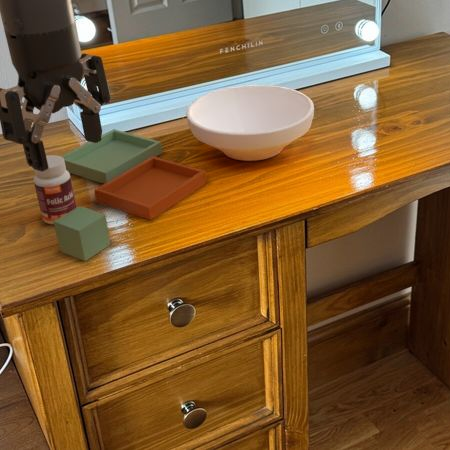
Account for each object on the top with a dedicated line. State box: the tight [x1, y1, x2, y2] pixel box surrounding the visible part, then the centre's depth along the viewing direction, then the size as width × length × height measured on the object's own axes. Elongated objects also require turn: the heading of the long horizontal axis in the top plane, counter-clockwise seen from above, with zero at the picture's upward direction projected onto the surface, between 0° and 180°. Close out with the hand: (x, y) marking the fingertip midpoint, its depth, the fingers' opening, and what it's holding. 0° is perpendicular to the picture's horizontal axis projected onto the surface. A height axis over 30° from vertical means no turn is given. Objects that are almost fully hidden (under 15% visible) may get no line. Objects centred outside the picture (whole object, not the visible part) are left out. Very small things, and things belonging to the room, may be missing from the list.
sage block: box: [53, 205, 112, 262], centre depth 96 cm, size 4×4×4 cm
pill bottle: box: [33, 154, 78, 225], centre depth 102 cm, size 5×5×8 cm
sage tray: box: [60, 128, 164, 185], centre depth 118 cm, size 12×10×2 cm
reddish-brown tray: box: [94, 156, 208, 221], centre depth 109 cm, size 12×10×2 cm
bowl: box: [185, 84, 315, 162], centre depth 119 cm, size 20×20×7 cm
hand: (67, 154), depth 92 cm, fingers open, 8 cm apart
